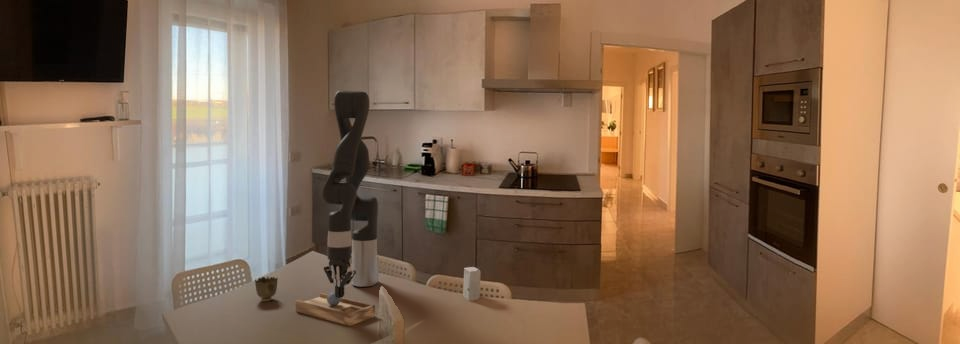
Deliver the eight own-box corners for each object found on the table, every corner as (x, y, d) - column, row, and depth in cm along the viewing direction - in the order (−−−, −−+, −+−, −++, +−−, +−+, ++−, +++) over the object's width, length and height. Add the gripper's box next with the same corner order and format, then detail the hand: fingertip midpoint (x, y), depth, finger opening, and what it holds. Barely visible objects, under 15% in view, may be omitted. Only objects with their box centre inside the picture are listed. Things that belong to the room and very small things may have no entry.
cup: (269, 305, 186) (269, 282, 186) (250, 303, 187) (250, 280, 187) (282, 299, 193) (281, 277, 193) (263, 297, 195) (263, 275, 194)
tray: (321, 303, 189) (321, 292, 189) (375, 316, 176) (375, 305, 176) (295, 311, 180) (295, 300, 180) (350, 326, 167) (350, 314, 166)
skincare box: (462, 300, 194) (462, 267, 194) (473, 299, 196) (474, 266, 195) (468, 305, 189) (469, 271, 188) (480, 304, 190) (481, 270, 190)
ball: (344, 293, 181) (342, 305, 178) (334, 297, 182) (332, 309, 179) (335, 287, 178) (333, 299, 175) (324, 292, 179) (323, 304, 176)
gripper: (362, 244, 175) (362, 297, 176) (334, 240, 182) (334, 291, 183) (345, 248, 168) (345, 303, 169) (316, 243, 176) (316, 296, 177)
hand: (339, 297), depth 176 cm, fingers closed
